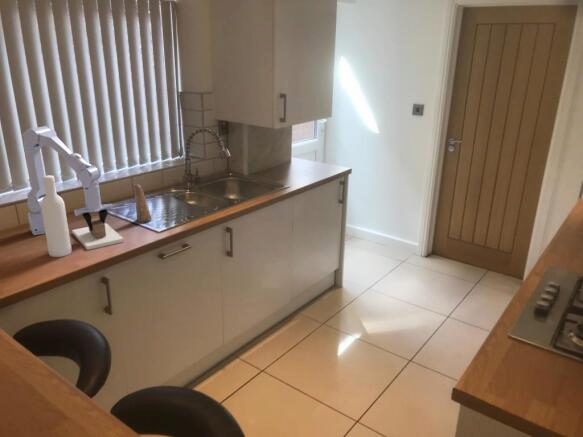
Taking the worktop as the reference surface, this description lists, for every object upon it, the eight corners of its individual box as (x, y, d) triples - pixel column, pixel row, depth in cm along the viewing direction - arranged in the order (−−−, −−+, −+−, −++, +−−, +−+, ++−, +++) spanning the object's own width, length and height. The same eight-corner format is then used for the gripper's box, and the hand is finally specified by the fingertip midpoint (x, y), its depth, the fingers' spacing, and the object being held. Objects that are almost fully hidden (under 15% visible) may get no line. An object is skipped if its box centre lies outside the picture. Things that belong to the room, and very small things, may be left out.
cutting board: (87, 250, 182) (87, 246, 181) (72, 233, 197) (72, 230, 197) (123, 241, 190) (123, 238, 189) (106, 226, 205) (106, 223, 205)
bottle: (53, 248, 182) (41, 173, 172) (75, 248, 183) (63, 173, 172) (45, 257, 175) (31, 179, 164) (67, 257, 175) (55, 179, 165)
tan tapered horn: (138, 220, 216) (137, 225, 210) (128, 183, 209) (126, 187, 203) (152, 217, 217) (151, 222, 211) (142, 180, 209) (141, 184, 204)
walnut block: (89, 231, 195) (87, 219, 193) (99, 229, 197) (97, 217, 195) (95, 238, 188) (94, 226, 186) (106, 236, 191) (104, 224, 189)
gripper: (76, 202, 180) (80, 235, 185) (114, 196, 189) (117, 227, 194) (71, 198, 186) (75, 230, 190) (108, 192, 194) (112, 222, 199)
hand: (96, 228), depth 192 cm, fingers closed on walnut block, 4 cm apart
